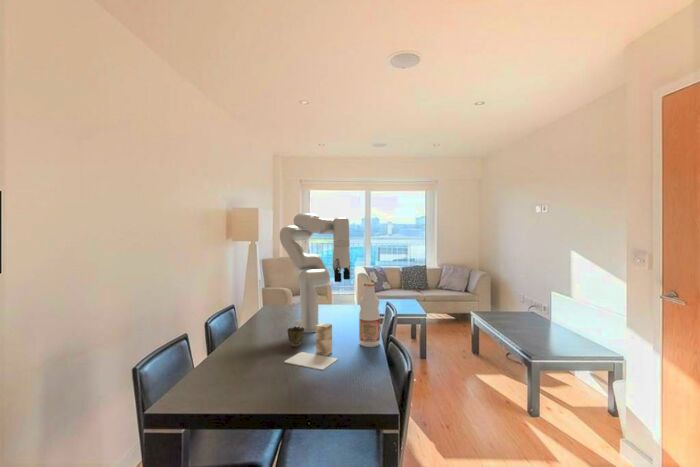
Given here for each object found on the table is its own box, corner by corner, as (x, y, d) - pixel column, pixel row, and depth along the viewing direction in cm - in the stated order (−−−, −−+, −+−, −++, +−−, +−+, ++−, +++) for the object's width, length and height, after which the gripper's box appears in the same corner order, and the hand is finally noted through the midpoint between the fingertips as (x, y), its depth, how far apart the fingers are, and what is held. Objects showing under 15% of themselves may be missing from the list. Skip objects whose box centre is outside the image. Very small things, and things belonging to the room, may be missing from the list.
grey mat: (283, 362, 135) (283, 361, 135) (301, 352, 146) (301, 351, 146) (322, 370, 127) (322, 369, 127) (338, 359, 138) (338, 358, 138)
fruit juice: (355, 343, 158) (355, 282, 158) (371, 339, 163) (371, 281, 163) (367, 349, 150) (367, 285, 150) (384, 345, 155) (383, 283, 155)
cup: (284, 347, 153) (284, 329, 153) (294, 342, 159) (294, 325, 159) (297, 350, 149) (297, 331, 149) (307, 345, 156) (307, 327, 156)
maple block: (315, 354, 144) (315, 325, 144) (322, 350, 149) (322, 322, 149) (326, 355, 142) (326, 327, 142) (332, 352, 147) (332, 324, 147)
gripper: (342, 243, 170) (342, 278, 170) (325, 244, 154) (326, 282, 154) (355, 243, 167) (356, 278, 166) (340, 244, 151) (341, 283, 151)
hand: (342, 280), depth 160 cm, fingers open, 9 cm apart
